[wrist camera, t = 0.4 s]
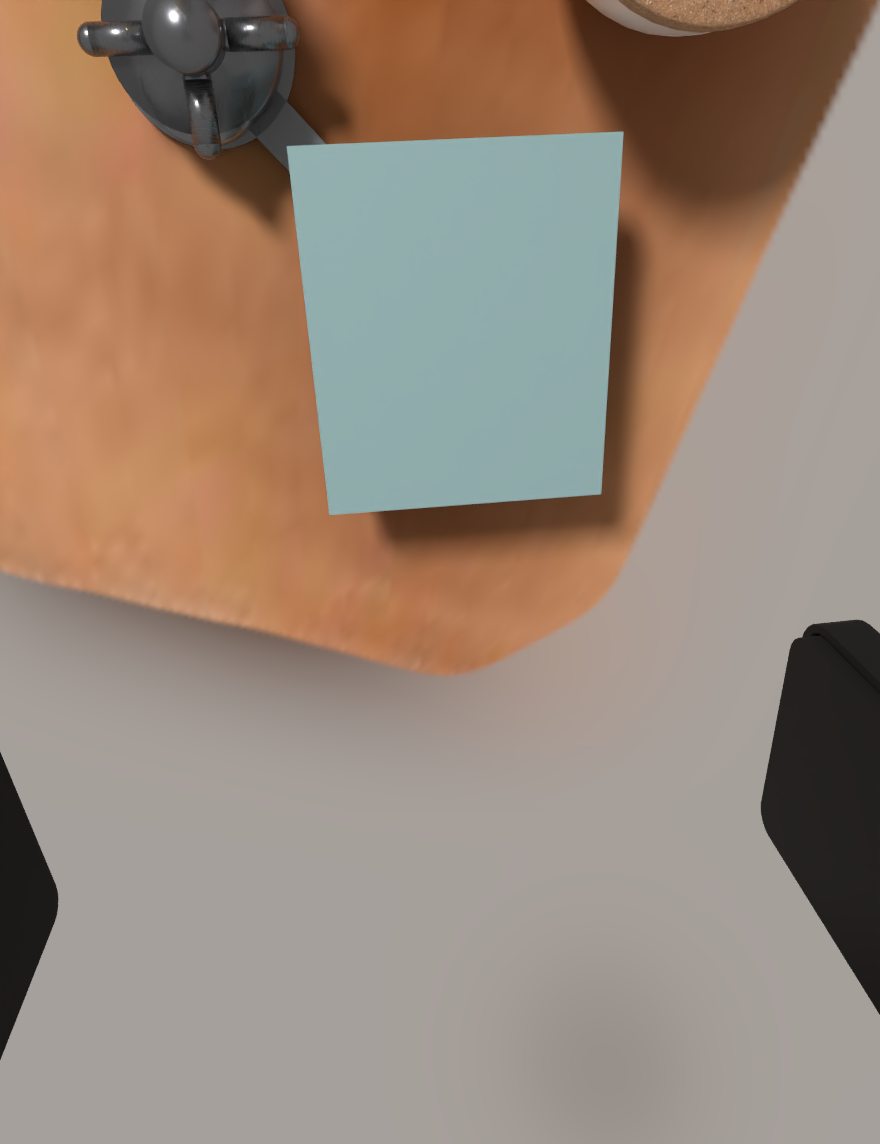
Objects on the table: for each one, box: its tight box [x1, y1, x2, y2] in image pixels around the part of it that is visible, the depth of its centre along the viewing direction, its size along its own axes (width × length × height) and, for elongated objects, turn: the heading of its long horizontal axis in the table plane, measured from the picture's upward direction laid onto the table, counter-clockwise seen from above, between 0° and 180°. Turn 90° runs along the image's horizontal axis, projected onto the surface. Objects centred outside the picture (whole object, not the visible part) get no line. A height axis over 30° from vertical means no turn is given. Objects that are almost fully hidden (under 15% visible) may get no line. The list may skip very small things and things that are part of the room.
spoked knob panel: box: [130, 0, 624, 515], centre depth 31 cm, size 22×18×5 cm
